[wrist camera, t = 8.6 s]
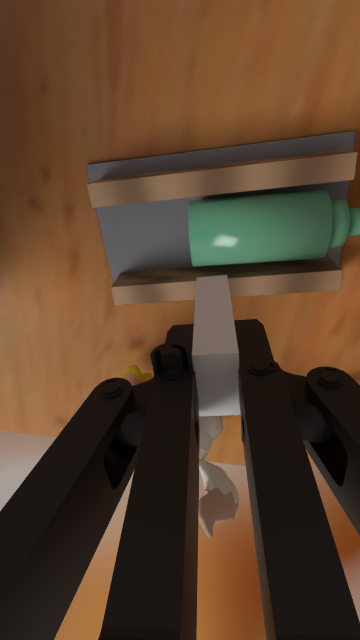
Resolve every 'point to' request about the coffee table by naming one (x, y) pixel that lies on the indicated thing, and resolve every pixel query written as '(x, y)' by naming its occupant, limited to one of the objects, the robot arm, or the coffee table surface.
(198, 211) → the bottle
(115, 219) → the mat
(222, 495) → the toy
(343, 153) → the rest
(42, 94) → the coffee table surface
